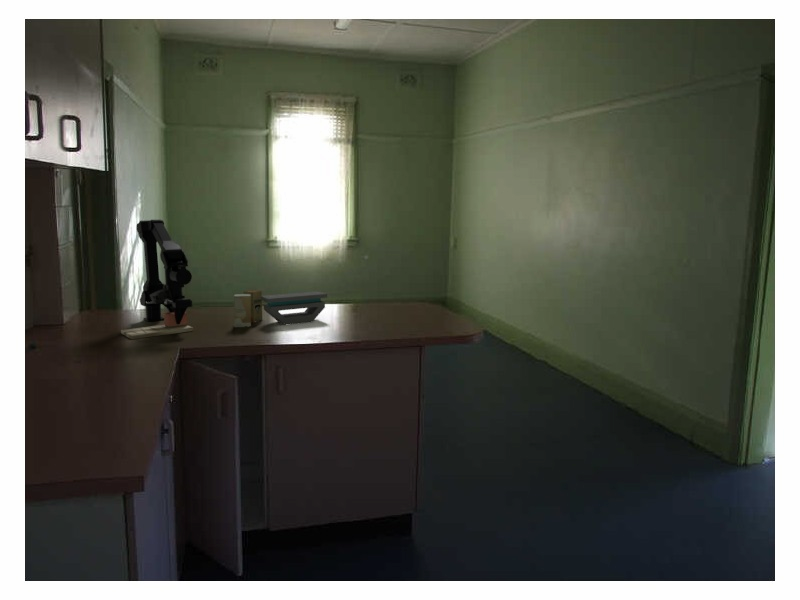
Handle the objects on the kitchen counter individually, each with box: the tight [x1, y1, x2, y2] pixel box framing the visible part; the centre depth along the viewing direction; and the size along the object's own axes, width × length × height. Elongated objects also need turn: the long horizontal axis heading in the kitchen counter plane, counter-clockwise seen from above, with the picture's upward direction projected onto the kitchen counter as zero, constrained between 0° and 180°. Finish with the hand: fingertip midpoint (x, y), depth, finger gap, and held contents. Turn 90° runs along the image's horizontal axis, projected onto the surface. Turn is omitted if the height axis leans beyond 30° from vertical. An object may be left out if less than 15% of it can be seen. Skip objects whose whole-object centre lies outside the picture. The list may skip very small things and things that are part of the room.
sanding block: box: [163, 311, 189, 328], centre depth 227 cm, size 4×7×5 cm, turn 131°
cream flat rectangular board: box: [120, 324, 194, 340], centre depth 223 cm, size 12×22×1 cm, turn 131°
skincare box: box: [233, 293, 252, 328], centre depth 234 cm, size 6×4×12 cm
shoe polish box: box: [243, 289, 263, 323], centre depth 244 cm, size 5×5×12 cm
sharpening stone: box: [261, 290, 328, 326], centre depth 243 cm, size 25×8×11 cm, turn 122°
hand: (176, 323), depth 228 cm, fingers closed on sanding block, 4 cm apart
